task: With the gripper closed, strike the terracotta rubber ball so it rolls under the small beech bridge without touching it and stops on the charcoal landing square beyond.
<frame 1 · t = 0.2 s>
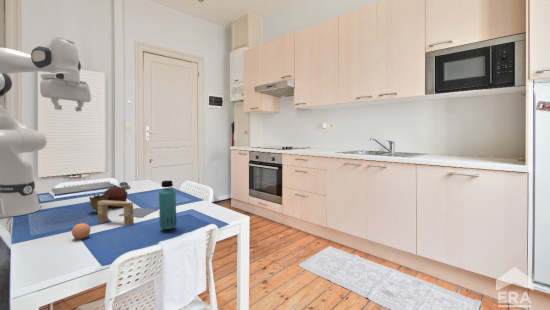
hand: (68, 110, 114), 48 cm above the table, tool pointing down, fingers open, 8 cm apart
muffin: (115, 207, 136), on the table
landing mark: (139, 212, 127), on the table
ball: (81, 230, 96), on the table
bridge: (116, 222, 113), on the table
beverage bottle: (168, 230, 106), on the table
cup: (99, 212, 126), on the table
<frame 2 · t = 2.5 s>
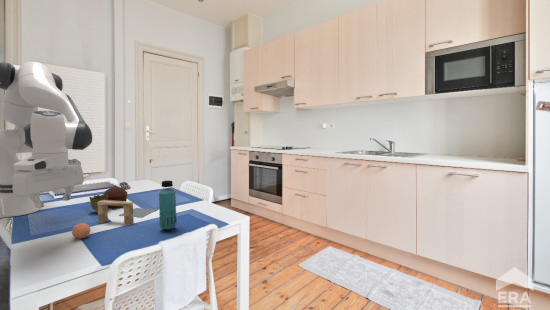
hand: (53, 203, 86), 16 cm above the table, tool pointing down, fingers open, 8 cm apart
nothing on the table moved.
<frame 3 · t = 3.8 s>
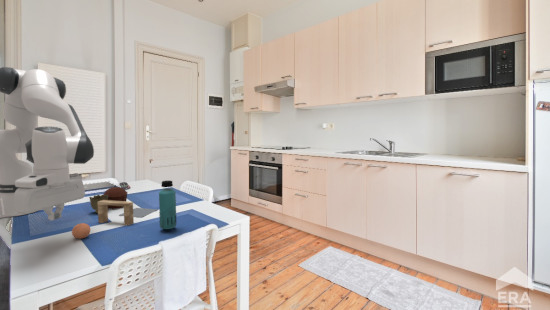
hand: (55, 218, 86), 11 cm above the table, tool pointing down, fingers closed
nothing on the table moved.
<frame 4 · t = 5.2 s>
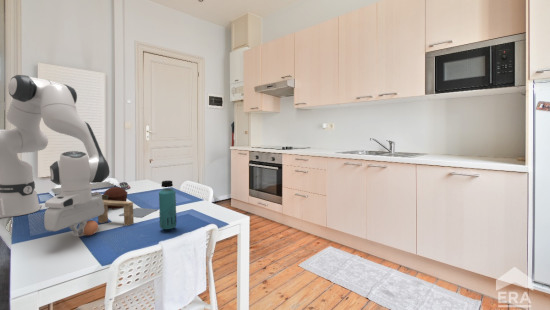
hand: (78, 234, 95), 2 cm above the table, tool pointing down, fingers closed
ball: (89, 227, 99), on the table
everything else where it was.
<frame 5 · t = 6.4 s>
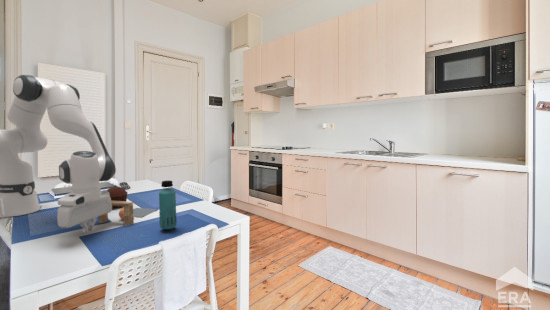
hand: (88, 230, 99), 2 cm above the table, tool pointing down, fingers closed
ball: (126, 213, 117), on the table
everything else where it was.
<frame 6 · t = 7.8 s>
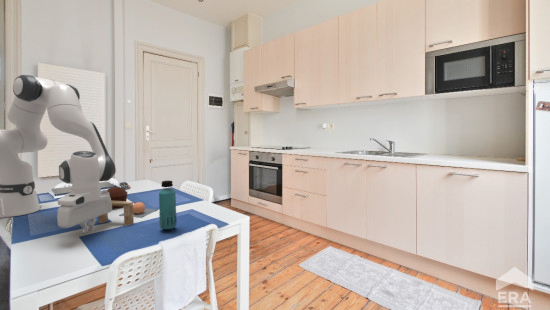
hand: (88, 230, 99), 2 cm above the table, tool pointing down, fingers closed
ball: (138, 208, 125), on the table
everything else where it was.
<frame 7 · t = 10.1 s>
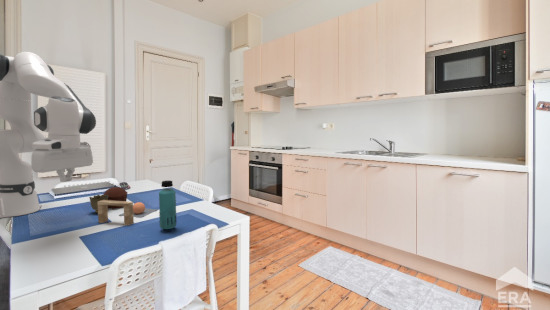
hand: (66, 181, 95), 21 cm above the table, tool pointing down, fingers closed
nothing on the table moved.
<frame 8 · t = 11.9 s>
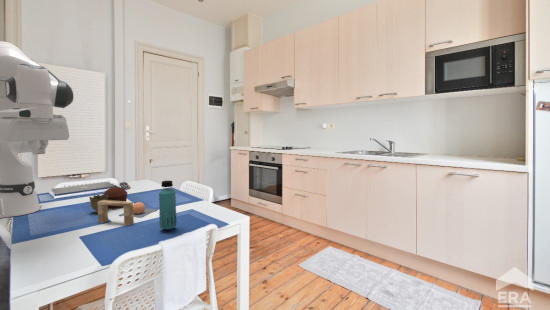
hand: (39, 154, 90), 31 cm above the table, tool pointing down, fingers closed
nothing on the table moved.
at the end: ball 1.9 cm from the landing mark (horizontally); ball never touched bridge; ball at rest at the end (0.0 cm/s) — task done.
